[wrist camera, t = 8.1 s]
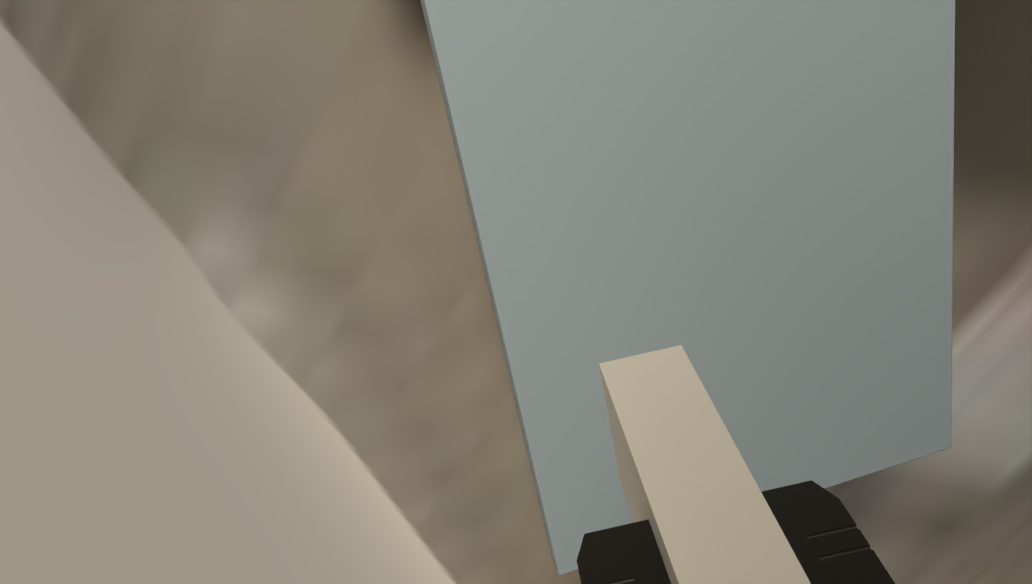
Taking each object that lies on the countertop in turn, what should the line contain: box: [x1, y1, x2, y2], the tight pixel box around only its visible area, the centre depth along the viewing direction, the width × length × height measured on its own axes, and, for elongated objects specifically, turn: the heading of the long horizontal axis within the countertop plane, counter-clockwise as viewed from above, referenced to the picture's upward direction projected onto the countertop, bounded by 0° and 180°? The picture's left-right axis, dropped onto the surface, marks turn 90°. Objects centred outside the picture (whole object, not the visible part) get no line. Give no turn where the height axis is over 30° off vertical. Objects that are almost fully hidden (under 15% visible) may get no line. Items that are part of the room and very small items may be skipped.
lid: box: [420, 0, 955, 575], centre depth 23 cm, size 17×12×1 cm
